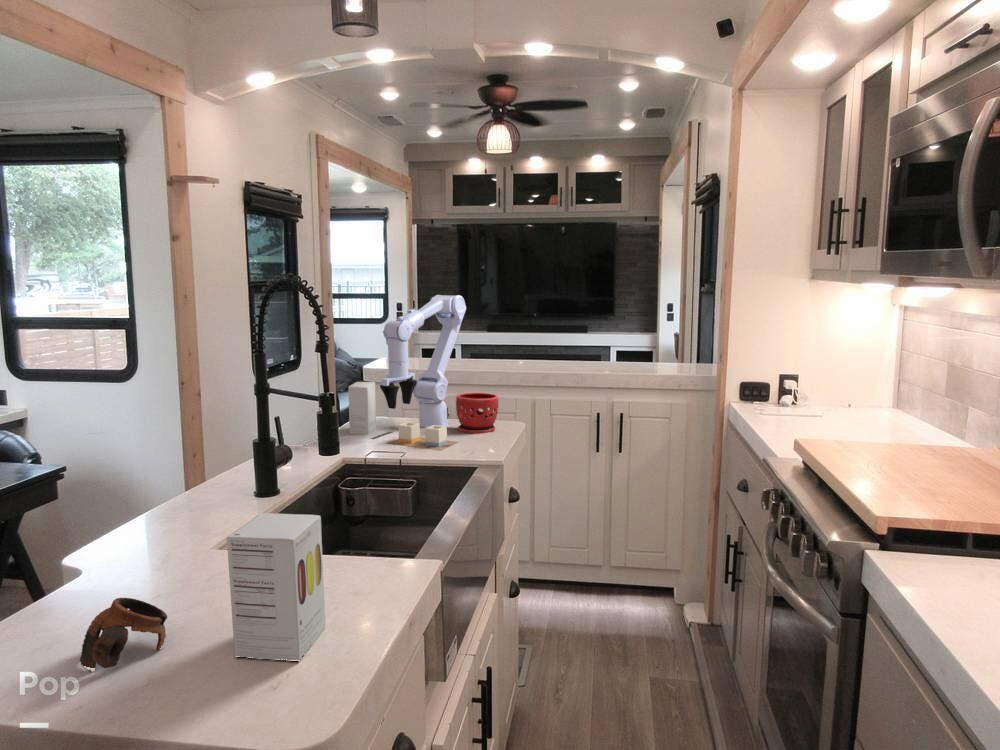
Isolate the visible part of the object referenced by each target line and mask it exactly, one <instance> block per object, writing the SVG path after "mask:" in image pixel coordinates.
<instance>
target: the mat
mask: <svg viewBox="0 0 1000 750" xmlns="http://www.w3.org/2000/svg"><path fill="white" fill-rule="evenodd" d="M393 432H394V431H387V432H383V433H381V434H379V435H376V436H374V437H371V438H369V440H375V439H378V438H381V437H384V436H387V435H389V434H392V433H393Z"/></svg>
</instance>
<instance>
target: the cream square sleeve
mask: <svg viewBox="0 0 1000 750" xmlns="http://www.w3.org/2000/svg"><path fill="white" fill-rule="evenodd" d="M397 428H398V439H399V442H406V443H410V444H412V443H415V442H417V441H419V440H420V438H421V427H420V423H419V422H410V421H409V422H408V421H406V422H403V423H400V424H399V425H398V427H397Z"/></svg>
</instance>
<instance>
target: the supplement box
mask: <svg viewBox="0 0 1000 750" xmlns="http://www.w3.org/2000/svg"><path fill="white" fill-rule="evenodd" d="M322 541H323V539H322V517H321V515H318V514H317V515H316V514H303V513H302V514H301V513H300V514H298V513H297V514H294V513H275V512H274V513H271V512H270V513H268V512H265V513H264V512H260V513H258V514H257V515H256V516H254V517H253V518H252V519H251V520H249V521H248V522H247V523H245V524H243V525H242V526H241V527H240V528H238V529H236V531H234V532H232V533H231V534H229V535H228V536H227V537H226V544H227V545H226V547H227V561H228V562H227V563H228V564H227V565H228V576H229V588H230V589H229V590H230V606H231V618H232V619H231V620H232V621H231V622H232V635H233V650H234V657H235V656H240V657H251V658H252V657H253V658H259V659H258V660H262V658H263V659H280V660H281V659H283V660H284V659H285V660H286V659H287V660H300V659H301V658H302V656H303V655H304V654H305V652H306V651H307V650H308V649H309V648H310V649H311V647H312V646H313V645H314V643H315V642H316V641H317V639H318V638H319V637H320V636H321V634H322V633H321V632H323V631H324V630H325V629H326V627H325V626H326V607H325V603H326V602H325V585H324V579H325V578H324V563H323V543H322ZM324 628H325V629H324ZM323 629H324V630H323ZM318 636H319V637H318ZM315 640H316V641H315ZM314 641H315V642H314ZM312 644H313V645H312ZM311 645H312V646H311ZM310 646H311V647H310ZM310 649H309V650H310ZM309 650H308V651H309ZM308 651H307V652H308ZM305 655H306V654H305ZM305 655H304V656H305ZM260 658H261V659H260ZM302 659H303V658H302ZM302 659H301V660H302Z"/></svg>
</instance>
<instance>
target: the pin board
mask: <svg viewBox="0 0 1000 750" xmlns="http://www.w3.org/2000/svg"><path fill="white" fill-rule="evenodd" d="M458 443H459V441H452V440H447V444H445V445H443V446H441V447H434V446H426V437H420V440H419V441H417V442H415V443H412V444H410V443H406V442H399V438H397V439H395V440H392V441H390V442H388V443H386V444H387V445H395V446H403V447H411V448H417V449H427V450H432V451H443V450H445V449H447V448H450V447H451V446H454V445H457V444H458Z"/></svg>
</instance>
